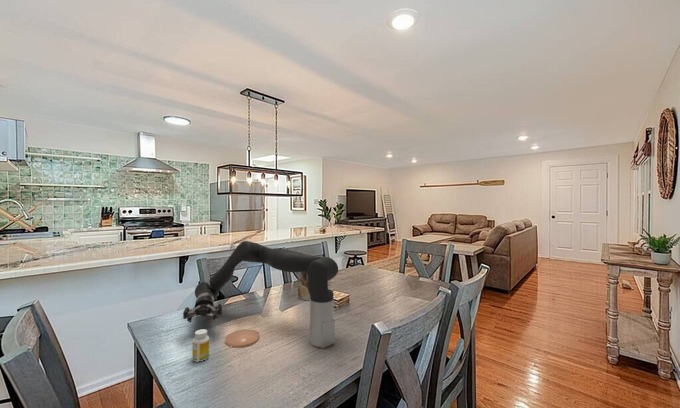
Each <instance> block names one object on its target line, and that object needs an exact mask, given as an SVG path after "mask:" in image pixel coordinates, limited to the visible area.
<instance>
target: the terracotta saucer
mask: <svg viewBox="0 0 680 408" xmlns="http://www.w3.org/2000/svg"><path fill="white" fill-rule="evenodd" d="M259 340H260V332H258V331H257V330H254V329H251V328H250V329H248V328H247V329H240V330H235V331H232V332H230V333H228V334H227V335H226V336H225V338H224V342H225V343H224V344H225V345H226V344H227V345H228V347H230V346H232V347H231V348H234V347H241V348H246V346H247V347H249V346H252V345H255V344H256V343H258V341H259ZM227 345H226V346H227Z"/></svg>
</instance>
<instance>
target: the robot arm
mask: <svg viewBox="0 0 680 408" xmlns="http://www.w3.org/2000/svg"><path fill="white" fill-rule="evenodd" d="M242 262H250V263H259V264H265V265H268V266H270V267H271V268H272V269H276V270H278V271H282V272H286V273H298V272H308V291H309V294H310V301H309V304H310V305H309V343H310V345H311V346H313V347H316V348H321V349H325V348H328V347H330V346H331V345H334V344H335V340H336V339H335V338H336V337H335V336H336V335H335V334H336V333H335V332H336V328H335V326H336V320H335V319H334V299H335V298H334V291H333V290H332V289H329V285H328V284H329V281H331V280H332V279H334V278H335V277H336V276H337V275H338V274H339V266H338V263H337V262H336V260H334V259H333V258H331V257H329V256H328V257H327V256H318V255H309V254H306V253H302V252H299V251H294V250H291V249H287V248H286V249H285V248H277V247H274V248H270V247H267V246H265V245H263V244H259V243H257V242H253V241H249V240H244V241H241V242H240V243H239V244H238V245H237V246H236V248H235V249H234V250H233V252H232V253H231V254H230V256H229V257H228V258H227V260H226V261H225V262H224V264H222V266H221V267H220V268H219V270H217V271H216V272H215V273H214V274H213V275H212V276H211V277H210V278H209V282H206V281H202V282H200V283H198V284H197V285H196V287H195V289H194V295H195V298H196V299H195V304H194V307H192V308H189V307H185V309H184V310H183V312H182V314H183V315H182V317H183V318H182V319H184V320H186V321H187V322H188V323H191V322H192V319H193V318H194V319H195V318H197V317H205V316H210V317H212V320H216V318H218V316H222V315H223V312H222V311H223V307H222V303H220V304H218V305H217V306H215V300H216V298H217V296H218V294H219V292H220V291H221V289H222V288H223V287H224V286H225V285H226V284H227V283H229V281H230V280H231V279H232V278H233V276H234V272H235V268H236V267H237V266H238V265H239V264H240V263H242Z"/></svg>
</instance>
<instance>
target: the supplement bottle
mask: <svg viewBox="0 0 680 408" xmlns="http://www.w3.org/2000/svg"><path fill="white" fill-rule="evenodd" d="M191 353H192V356H191V357H192V358H191V359H192V361H193V362H194V361H195V363H200V362H199V361H202V362H204V361H203V360H205V361H206V359H207V358H208V359H209V357H210V337H209V335H208V329H205V328H204V329H198V330H196V331H195V332H194V338H193V339H192V352H191ZM208 359H207V360H208Z"/></svg>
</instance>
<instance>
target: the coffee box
mask: <svg viewBox="0 0 680 408" xmlns="http://www.w3.org/2000/svg"><path fill="white" fill-rule="evenodd" d="M297 298H298V300H303V301H308V302H310V294H309V291H308V272H297Z"/></svg>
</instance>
